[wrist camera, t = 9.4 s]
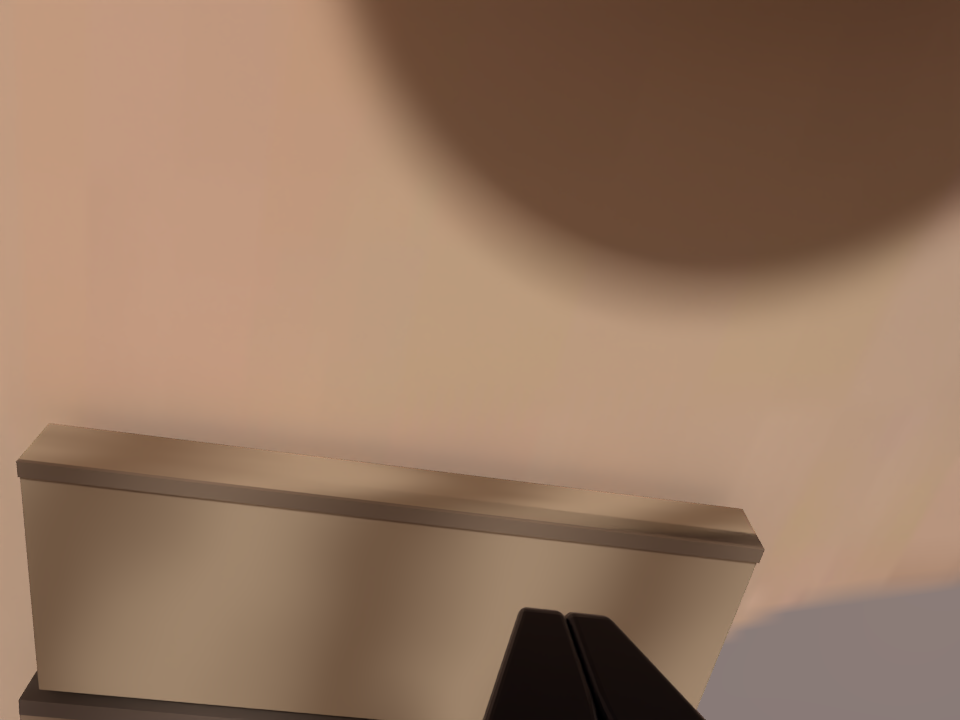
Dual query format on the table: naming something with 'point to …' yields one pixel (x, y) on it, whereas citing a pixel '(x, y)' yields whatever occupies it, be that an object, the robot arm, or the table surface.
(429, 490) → the plank
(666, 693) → the robot arm
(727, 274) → the table surface
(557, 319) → the table surface
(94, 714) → the laid board
